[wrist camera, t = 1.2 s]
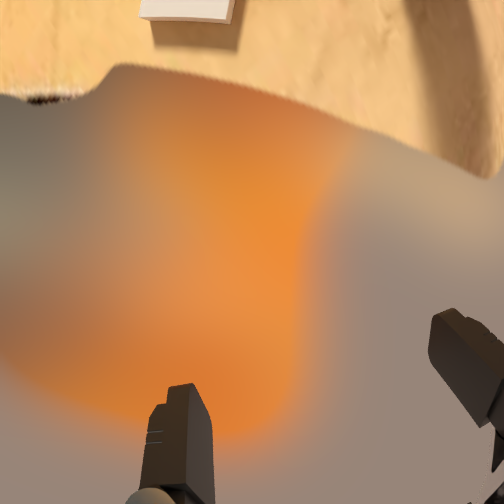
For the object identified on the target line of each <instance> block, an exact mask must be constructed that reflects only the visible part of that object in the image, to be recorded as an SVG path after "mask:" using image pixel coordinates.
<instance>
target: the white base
mask: <svg viewBox="0 0 504 504" xmlns="http://www.w3.org/2000/svg"><path fill="white" fill-rule="evenodd" d="M234 4H235V0H142V1H141V6H140V11H139V18H142V19H145V20H148V21H194V22H211V23H223V24H231V19H232V14H233V9H234Z"/></svg>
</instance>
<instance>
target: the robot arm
mask: <svg viewBox="0 0 504 504" xmlns="http://www.w3.org/2000/svg"><path fill="white" fill-rule="evenodd" d="M428 354H429V359H430V362H431V364H432V365H433V367H434V368H435V369H436V370H437V372H438V373H439V374H440V376H441V377H442V378H443V379H444V381H445V382H446V383H447V385H448V386H449V387H450V389H451V390H452V391H453V393H454V394H455V395H456V396H457V398H458V399H459V400H460V402H461V403H462V404H463V406H464V407H465V409H466V410H467V411H468V413H469V414H470V416H471V417H472V418H473V420H474V421H475V422H476V424H477V425H478V427H479V428H481V427H482V426H484V425H486V424H487V423H489V422H491V423H492V424H493V428H492V431H491V439H490V449H489V458H488V465H487V472H486V478H485V481H484V484H483V486H482V488H481V490H480V492H479V495H478V498H477V502H476V504H504V344H503V343H502V342H501V341H500V340H497V337H496V336H495V335H494V334H493V333H490V331H489V330H488V329H487V328H486V327H485V326H484V325H483V324H482V323H480V322H479V321H476V320H474V319H472V318H470V317H466V318H465V317H464V316H463V315H462V314H461V313H459V312H458V311H457V310H456V309H454V308H450V309H448V310H446V311H443V312H441V313H438V314H436V315H434V316H433V318H432V323H431V331H430V339H429V346H428ZM147 432H148V434H147V437H146V445H145V450H144V457H143V465H142V472H141V480H140V487H139V489H138V491H136V492H135V493H133V494H132V495H131V496H130V497H129V498H128V500H127V501H126V503H125V504H215V488H214V466H213V437H212V424H211V420H210V416H209V414H208V411H207V409H206V407H205V405H204V403H203V401H202V399H201V397H200V395H199V393H198V391H197V389H196V387H195V385H194V384H193V383H189V384H184V385H178V386H171V387H169V389H168V394H167V402H166V404H159V405H157V406H156V408H155V409H154V411H153V412H152V414H151V416H150V417H149V423H148V430H147ZM468 504H472V503H471V502H470V503H468Z"/></svg>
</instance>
